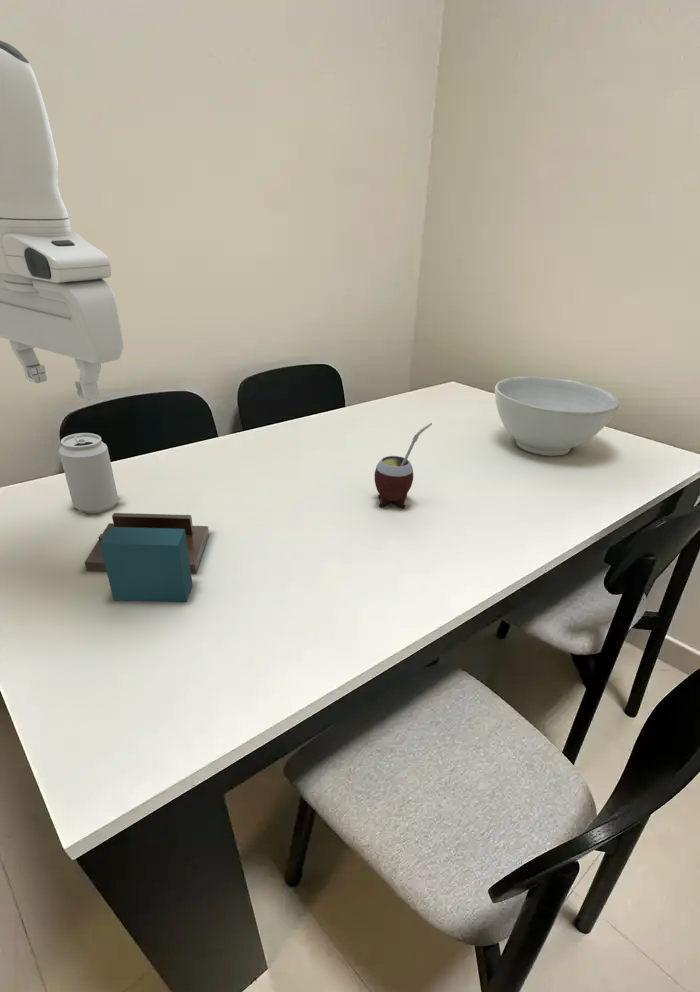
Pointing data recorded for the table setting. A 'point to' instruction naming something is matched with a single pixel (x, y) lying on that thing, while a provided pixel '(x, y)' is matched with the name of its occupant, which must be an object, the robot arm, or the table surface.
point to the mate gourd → (395, 477)
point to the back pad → (147, 564)
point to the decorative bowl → (552, 412)
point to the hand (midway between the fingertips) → (62, 389)
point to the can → (88, 472)
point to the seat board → (194, 534)
